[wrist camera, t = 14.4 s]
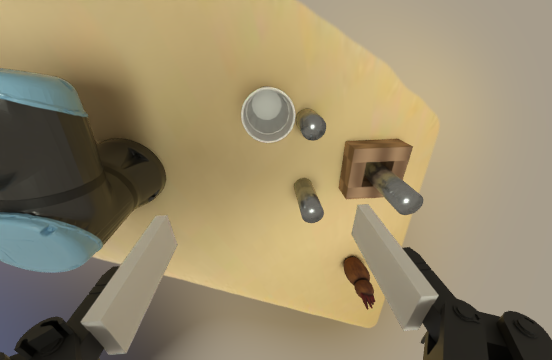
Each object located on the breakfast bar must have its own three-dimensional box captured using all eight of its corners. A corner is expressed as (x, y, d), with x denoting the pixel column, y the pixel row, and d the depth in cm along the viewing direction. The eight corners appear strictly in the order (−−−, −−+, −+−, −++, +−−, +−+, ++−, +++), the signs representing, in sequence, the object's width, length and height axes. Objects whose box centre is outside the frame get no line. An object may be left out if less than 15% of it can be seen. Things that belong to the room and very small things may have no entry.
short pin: (295, 130, 44) (301, 140, 38) (296, 108, 42) (301, 116, 36) (316, 129, 44) (324, 140, 38) (317, 108, 42) (327, 115, 36)
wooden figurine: (337, 261, 65) (356, 311, 51) (351, 251, 63) (375, 299, 50) (350, 270, 67) (372, 319, 54) (365, 260, 65) (391, 309, 52)
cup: (294, 109, 42) (305, 124, 31) (261, 131, 43) (261, 152, 33) (272, 72, 38) (276, 74, 28) (237, 97, 40) (229, 108, 29)
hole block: (338, 187, 51) (346, 199, 47) (345, 141, 46) (354, 149, 41) (385, 185, 52) (397, 196, 48) (398, 139, 46) (412, 146, 42)
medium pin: (293, 194, 52) (301, 223, 42) (294, 178, 49) (302, 205, 40) (311, 193, 52) (322, 222, 42) (312, 177, 50) (324, 204, 40)
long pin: (356, 173, 50) (393, 215, 36) (359, 156, 48) (400, 194, 34) (374, 172, 50) (418, 214, 36) (378, 155, 48) (426, 192, 34)
